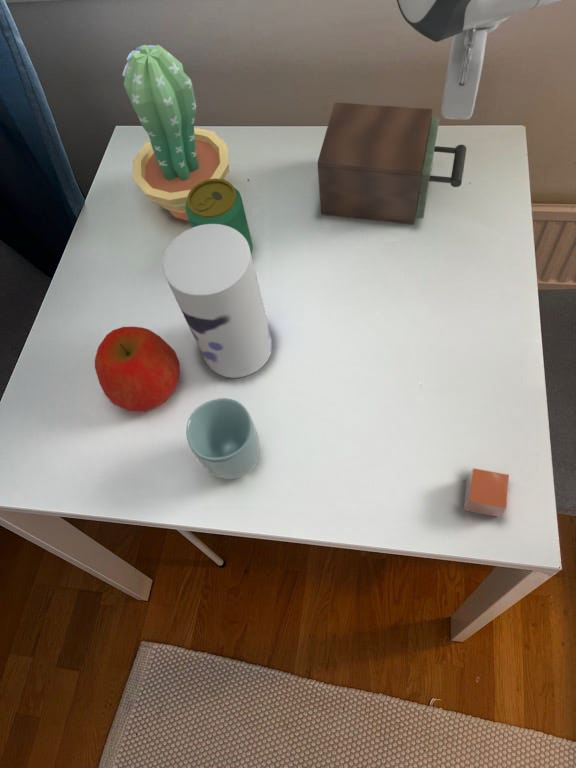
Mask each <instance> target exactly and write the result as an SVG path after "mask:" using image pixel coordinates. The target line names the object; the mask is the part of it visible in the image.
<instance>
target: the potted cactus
mask: <svg viewBox="0 0 576 768" xmlns="http://www.w3.org/2000/svg"><path fill="white" fill-rule="evenodd" d="M125 60H126V61H127V62H126V64H125V66H124V68H123V71H122V77H124V81H123V87H124V89H125V93H126V94H127V96H128V99H129V101H130V103H131V105H132V107H133V110H134V113H136V115H137V118H138V120H139V122H140V124H141V127H142V128H143V129H144V131H145V132H146V134H147V136H148V139H149V140H148V141H147V142H145V143H144V144H143V146H142V147H141V149H140V150H139V152H138V153H137V154H136V156H135V157H134V159H133V160H132V180H133V181H134V183H135V184H136V185H137V187H138V188H139V189H140V190H141V192H143V193H144V194H145V196H147V197H148V199H149V200H150V201H154V202H156V203H158V204H159V205H160V206H161V207H162V208H163V209H166V210H168V211H169V212H170V214H171V215H172V216H173V217H174V218H176V219H180V220H184V221H186V222H187V221H188V222H189V219H188V216H187V213H186V209H185V207H186V202H187V197H188V194H189V192H190V191H191V189H192V188H193V187H194V186H195V185H197V184H198V183H200V182H202V181H205V180H208V179H223V180H225V178H226V176H227V175H228V173H229V172H230V159H229V151H228V150H229V148H228V147H229V146H228V144H227V143H226V142H225V141H224V140H223V139H222V138H221V137H220V136H219V135H217V134H216V132H215V131H213V130H208V129H204V128H199V127H195V120H196V115H197V109H198V108H197V102H196V97H195V91H194V87H193V81H192V79H191V78H190V77H189V76H188V74H186V73H185V70H184V66H183V63H181V62H180V61H179V59H177V58H176V57H175V56H174V55H172V54H171V53H170V52H169V51H167V49H165V48H164V47H162V46H161V45H160V44H157V43H156V45H153V44H149V45H147V44H142V45H140V46H137V47H136V48H135V50H132V51H131V52H129V54H128V56H127V57H126V59H125Z"/></svg>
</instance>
